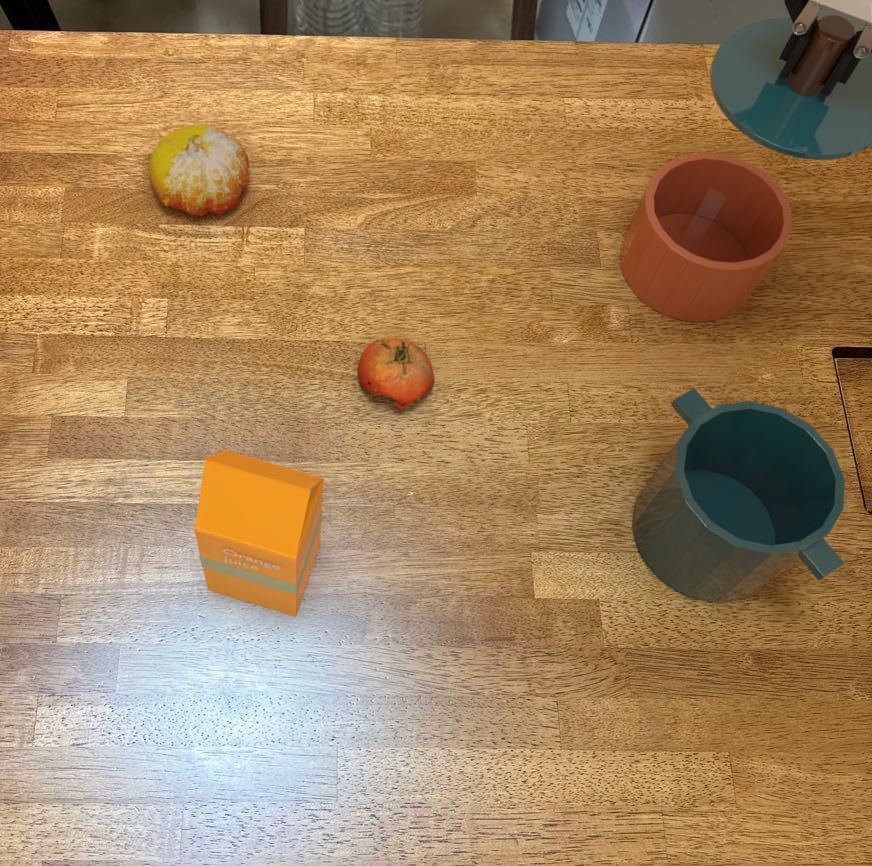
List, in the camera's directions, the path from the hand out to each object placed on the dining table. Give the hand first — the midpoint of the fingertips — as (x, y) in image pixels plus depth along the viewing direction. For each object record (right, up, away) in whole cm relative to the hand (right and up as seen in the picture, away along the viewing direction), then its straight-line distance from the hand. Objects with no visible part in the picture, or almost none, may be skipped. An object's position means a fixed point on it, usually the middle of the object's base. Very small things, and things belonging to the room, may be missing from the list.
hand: (809, 74), depth 85 cm
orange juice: (-46, -42, +12) cm, 63 cm away
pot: (-3, -38, +15) cm, 41 cm away
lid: (0, -1, +1) cm, 2 cm away
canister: (-1, -9, +27) cm, 29 cm away
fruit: (-55, 0, +29) cm, 62 cm away
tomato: (-33, -23, +20) cm, 45 cm away
